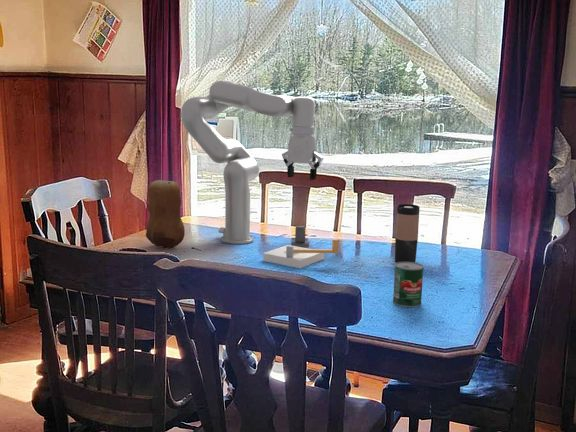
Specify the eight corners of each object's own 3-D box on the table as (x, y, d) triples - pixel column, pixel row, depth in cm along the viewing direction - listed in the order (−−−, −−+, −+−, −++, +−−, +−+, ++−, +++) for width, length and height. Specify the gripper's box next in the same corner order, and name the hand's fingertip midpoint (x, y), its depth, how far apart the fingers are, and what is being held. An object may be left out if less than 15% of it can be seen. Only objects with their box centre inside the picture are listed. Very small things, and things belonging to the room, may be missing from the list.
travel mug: (417, 260, 222) (421, 205, 218) (414, 266, 215) (418, 208, 211) (395, 258, 225) (399, 203, 221) (392, 263, 218) (395, 206, 214)
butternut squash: (178, 241, 241) (178, 177, 236) (189, 249, 230) (188, 181, 225) (142, 244, 235) (141, 178, 231) (151, 253, 224) (149, 183, 219)
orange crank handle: (285, 255, 209) (286, 238, 208) (337, 255, 210) (338, 239, 209) (286, 257, 206) (286, 240, 205) (338, 257, 208) (339, 240, 207)
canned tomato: (404, 296, 183) (407, 260, 181) (426, 303, 177) (429, 266, 175) (386, 301, 178) (389, 264, 176) (409, 309, 172) (411, 270, 170)
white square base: (262, 264, 213) (263, 253, 212) (287, 255, 225) (288, 244, 224) (300, 272, 204) (300, 260, 204) (323, 262, 217) (324, 251, 216)
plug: (287, 252, 229) (288, 227, 227) (297, 249, 234) (297, 224, 232) (302, 255, 225) (303, 229, 223) (311, 252, 231) (312, 226, 229)
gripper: (277, 130, 230) (276, 177, 233) (318, 133, 220) (316, 181, 224) (288, 129, 236) (287, 175, 239) (328, 132, 227) (327, 179, 230)
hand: (301, 178), depth 232 cm, fingers open, 9 cm apart
